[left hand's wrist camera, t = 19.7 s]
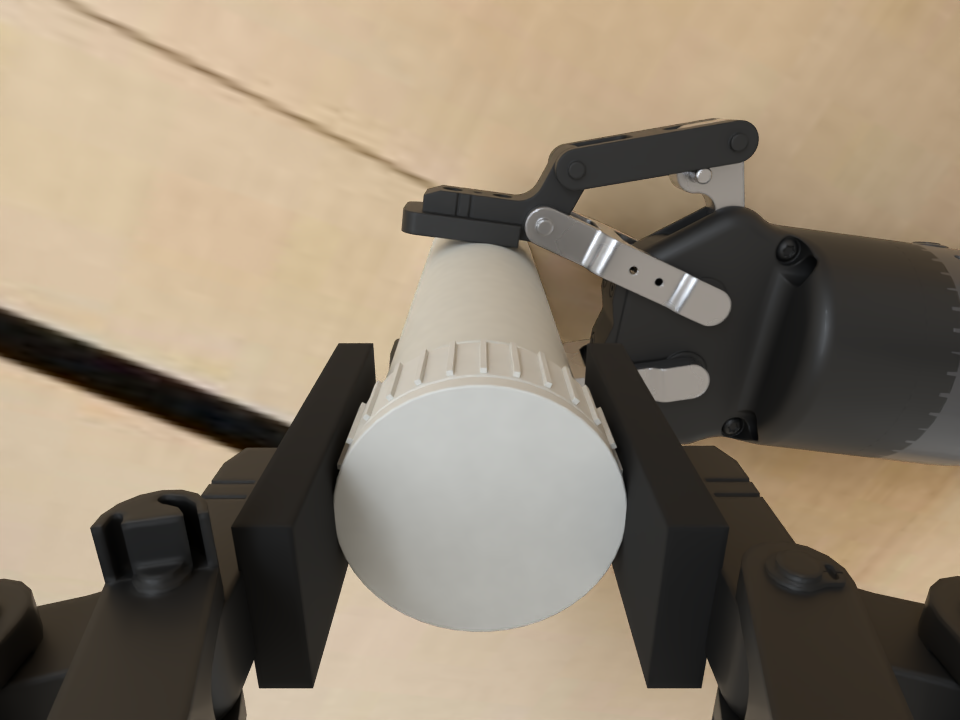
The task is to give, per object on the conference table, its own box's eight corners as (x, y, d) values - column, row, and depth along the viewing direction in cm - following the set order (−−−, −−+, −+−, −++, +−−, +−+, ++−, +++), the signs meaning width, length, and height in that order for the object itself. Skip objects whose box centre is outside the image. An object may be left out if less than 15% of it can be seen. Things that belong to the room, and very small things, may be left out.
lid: (544, 289, 11) (557, 325, 9) (649, 507, 12) (676, 574, 11) (299, 406, 12) (267, 460, 10) (427, 596, 13) (419, 671, 11)
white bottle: (435, 201, 27) (363, 361, 10) (537, 214, 27) (628, 393, 10) (425, 298, 28) (349, 575, 12) (521, 310, 28) (579, 599, 12)
